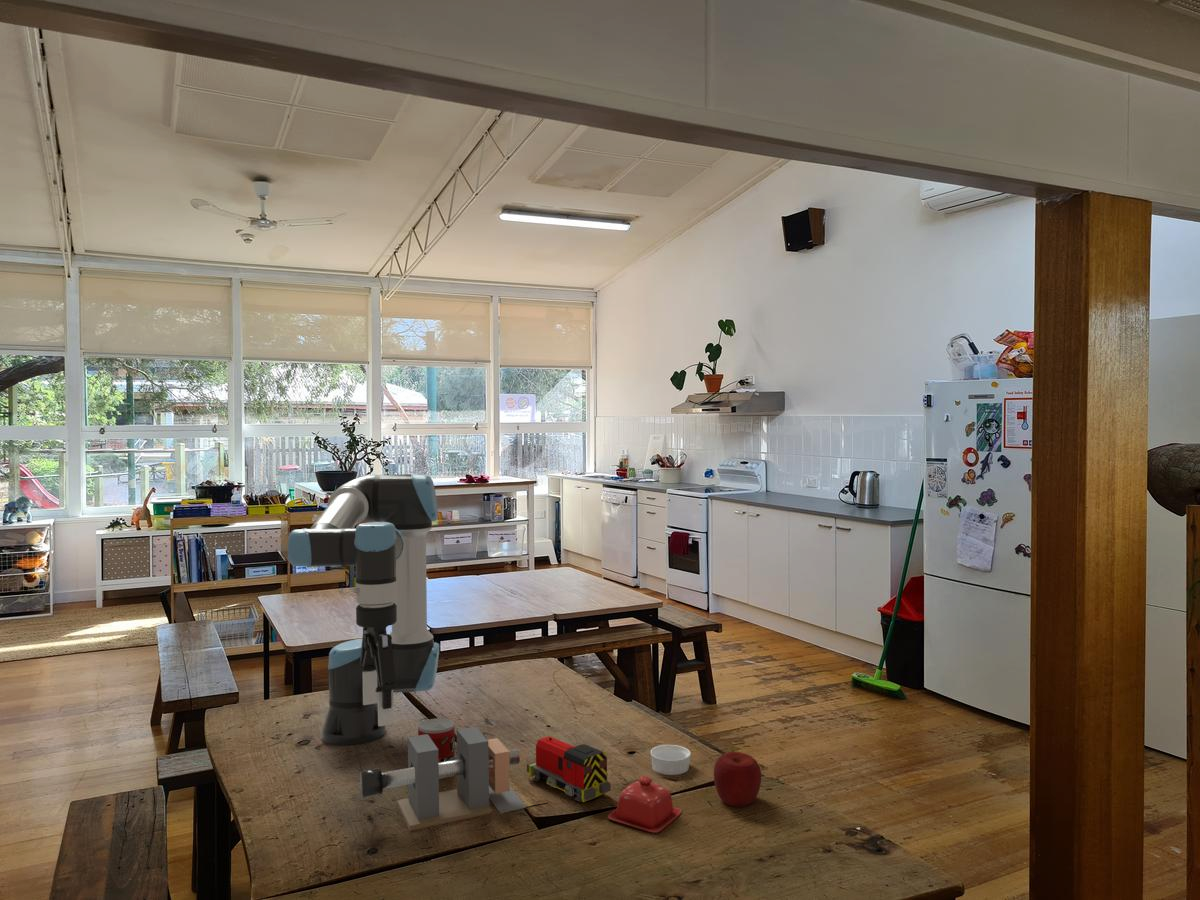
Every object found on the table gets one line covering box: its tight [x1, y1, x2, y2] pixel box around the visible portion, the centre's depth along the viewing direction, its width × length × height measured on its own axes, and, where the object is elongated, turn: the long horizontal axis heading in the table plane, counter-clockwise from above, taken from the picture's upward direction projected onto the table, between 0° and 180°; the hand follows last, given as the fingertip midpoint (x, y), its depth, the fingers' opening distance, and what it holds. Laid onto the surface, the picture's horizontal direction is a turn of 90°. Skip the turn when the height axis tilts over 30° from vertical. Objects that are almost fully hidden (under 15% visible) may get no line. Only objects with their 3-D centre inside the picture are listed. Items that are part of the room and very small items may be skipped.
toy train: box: [526, 735, 612, 803], centre depth 175 cm, size 7×19×10 cm, turn 43°
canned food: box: [417, 717, 456, 780], centre depth 183 cm, size 8×8×11 cm
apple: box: [713, 751, 762, 808], centre depth 168 cm, size 10×10×10 cm
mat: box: [489, 786, 527, 814], centre depth 172 cm, size 14×10×1 cm
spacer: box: [487, 737, 511, 794], centre depth 170 cm, size 8×3×8 cm, turn 25°
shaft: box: [359, 748, 521, 799], centre depth 166 cm, size 31×5×5 cm, turn 115°
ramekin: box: [650, 744, 692, 776], centre depth 184 cm, size 9×9×4 cm
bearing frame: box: [396, 726, 492, 832], centre depth 166 cm, size 16×12×14 cm
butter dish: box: [607, 775, 683, 834], centre depth 162 cm, size 12×12×8 cm
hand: (377, 714), depth 160 cm, fingers open, 13 cm apart
